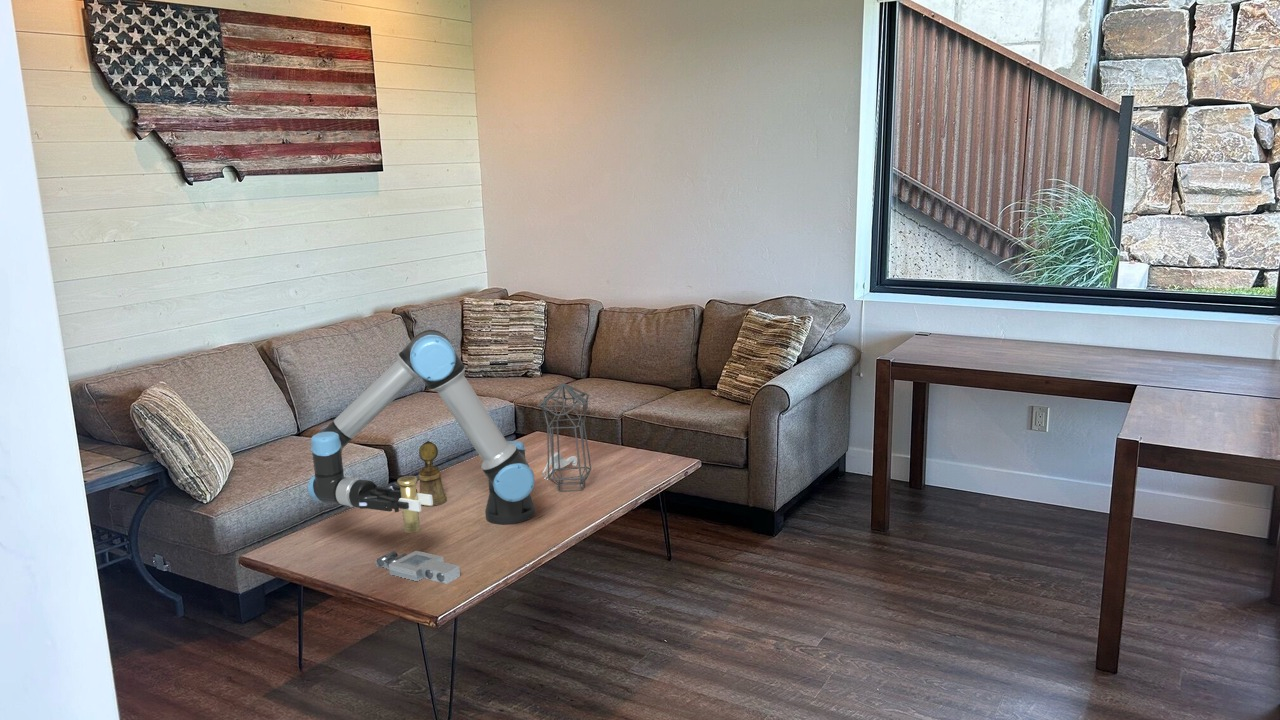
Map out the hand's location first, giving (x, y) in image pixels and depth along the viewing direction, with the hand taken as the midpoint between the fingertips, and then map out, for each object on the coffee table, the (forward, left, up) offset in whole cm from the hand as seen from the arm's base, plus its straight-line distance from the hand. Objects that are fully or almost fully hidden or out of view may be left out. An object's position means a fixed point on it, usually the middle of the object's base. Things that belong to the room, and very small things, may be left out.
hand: (425, 503), depth 241 cm
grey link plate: (+4, -3, -20) cm, 20 cm away
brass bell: (+4, -60, -20) cm, 63 cm away
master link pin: (+4, -3, -8) cm, 10 cm away
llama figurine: (-38, -75, -20) cm, 87 cm away
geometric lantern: (-41, -60, -20) cm, 75 cm away
